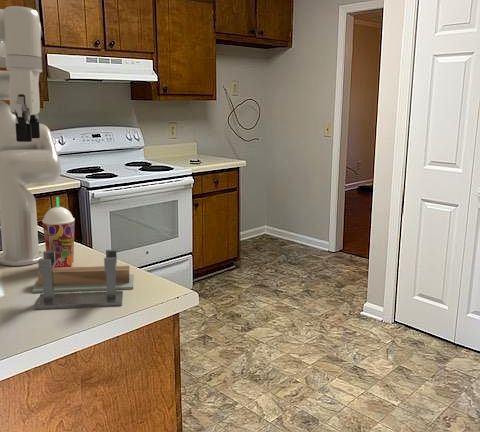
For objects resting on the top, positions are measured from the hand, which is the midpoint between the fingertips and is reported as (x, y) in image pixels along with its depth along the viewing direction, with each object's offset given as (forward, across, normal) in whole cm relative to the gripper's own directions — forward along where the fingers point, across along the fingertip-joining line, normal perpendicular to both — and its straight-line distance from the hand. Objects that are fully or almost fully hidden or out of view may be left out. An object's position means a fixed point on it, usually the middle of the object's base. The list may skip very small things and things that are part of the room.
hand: (28, 139), depth 117 cm
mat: (+36, +2, +12) cm, 38 cm away
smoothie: (+36, -12, +4) cm, 39 cm away
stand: (+36, +13, +12) cm, 40 cm away
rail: (+36, +2, +12) cm, 38 cm away
